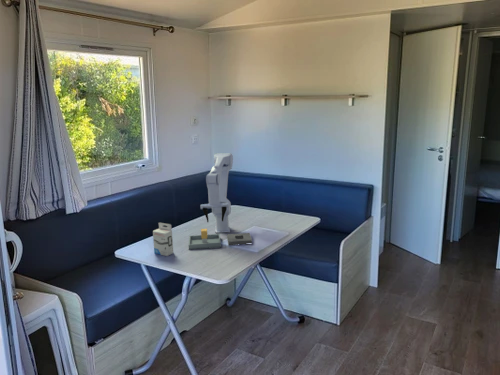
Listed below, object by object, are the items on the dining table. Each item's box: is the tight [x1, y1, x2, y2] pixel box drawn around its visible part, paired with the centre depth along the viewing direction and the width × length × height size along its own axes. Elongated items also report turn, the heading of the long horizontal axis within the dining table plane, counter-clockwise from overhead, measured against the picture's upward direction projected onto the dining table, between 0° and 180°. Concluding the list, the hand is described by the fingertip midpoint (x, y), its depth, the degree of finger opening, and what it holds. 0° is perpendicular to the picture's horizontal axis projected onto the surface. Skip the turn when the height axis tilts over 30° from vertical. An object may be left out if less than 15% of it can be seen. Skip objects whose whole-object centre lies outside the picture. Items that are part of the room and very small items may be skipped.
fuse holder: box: [226, 232, 253, 246], centre depth 230 cm, size 12×12×2 cm
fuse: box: [200, 228, 208, 243], centre depth 226 cm, size 4×3×7 cm
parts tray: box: [188, 233, 222, 250], centre depth 227 cm, size 14×16×2 cm
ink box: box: [152, 222, 174, 257], centre depth 214 cm, size 8×5×15 cm, turn 60°
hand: (215, 221), depth 232 cm, fingers open, 7 cm apart
